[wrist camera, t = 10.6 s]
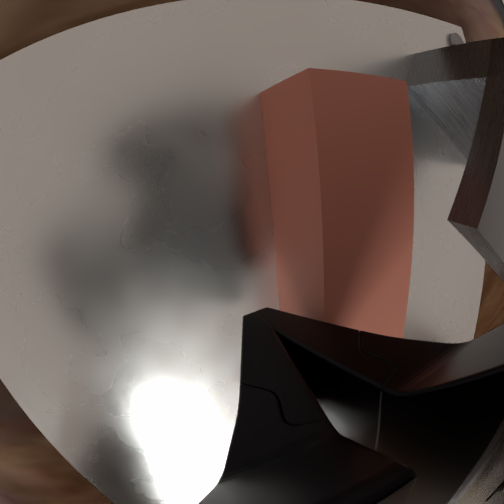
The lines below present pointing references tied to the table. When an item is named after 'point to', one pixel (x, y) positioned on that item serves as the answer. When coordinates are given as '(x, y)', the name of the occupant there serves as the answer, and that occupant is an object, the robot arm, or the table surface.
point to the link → (341, 197)
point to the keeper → (470, 133)
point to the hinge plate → (180, 223)
